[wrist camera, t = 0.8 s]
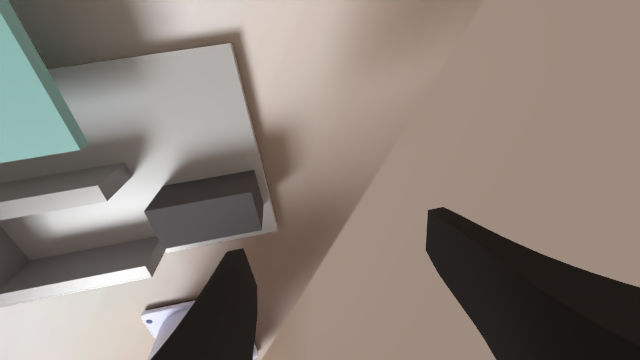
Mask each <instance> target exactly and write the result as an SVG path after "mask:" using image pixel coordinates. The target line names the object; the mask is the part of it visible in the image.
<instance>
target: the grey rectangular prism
mask: <svg viewBox="0 0 640 360" xmlns="http://www.w3.org/2000/svg"><path fill="white" fill-rule="evenodd" d="M263 206H264V204H263V200H262V197H261V193H260V189H259V185H258V182H257V178H256V174H255V170H250V171H245V172H239V173H233V174H228V175H222V176H216V177H211V178H205V179H199V180H194V181H188V182H182V183H176V184H171V185H165V186H162V188H161V189H160V190H159V192H158V193H157V194H156V196H155V197H154V198H153V200H152V201H151V202H150V204H149V205H148V206H147V208H146V209H145V210H144V213H145V215H146V217H147V219H148V221H149V222H150V224H151V226H152V228H153V230H154V232H155V234H156V236H157V238H158V240H159V242H160V243H161V245H162V247H163V249H167V248H172V247H177V246H182V245H188V244H193V243H198V242H203V241H209V240H214V239H219V238H224V237H229V236H235V235H240V234H245V233H250V232H255V231H261V230H262V222H263Z"/></svg>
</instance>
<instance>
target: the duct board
mask: <svg viewBox="0 0 640 360" xmlns="http://www.w3.org/2000/svg"><path fill="white" fill-rule="evenodd" d="M47 70H48V72H49V74H50V75H51V77H52V79H53V81H54V82H55V84H56V86H57V88H58V90H59V91H60V93H61V95H62V97H63V99H64V100H65V102H66V104H67V106H68V107H69V109H70V111H71V113H72V115H73V116H74V118H75V120H76V122H77V124H78V125H79V127H80V129H81V131H82V132H83V134H84V136H85V138H86V140H87V141H88V143H89V145H88V146H86V147H85V148H83V149H81V150H77V151H71V152H65V153H59V154H53V155H47V156H41V157H35V158H28V159H22V160H16V161H10V162H4V163H0V307H5V306H10V305H15V304H20V303H25V302H30V301H35V300H40V299H45V298H50V297H55V296H60V295H65V294H70V293H75V292H80V291H85V290H91V289H96V288H101V287H106V286H111V285H116V284H121V283H126V282H131V281H136V280H141V279H146V278H151V277H152V276H153V274H154V272H155V270H156V268H157V266H158V264H159V262H160V260H161V258H162V256H163V254H164V253H169V252H174V251H179V250H184V249H189V248H195V247H200V246H205V245H210V244H215V243H220V242H226V241H231V240H236V239H241V238H246V237H252V236H257V235H262V234H267V233H272V232H278V225H277V221H276V217H275V213H274V209H273V205H272V201H271V197H270V193H269V189H268V185H267V181H266V177H265V173H264V169H263V165H262V161H261V157H260V153H259V149H258V145H257V141H256V137H255V133H254V129H253V125H252V121H251V117H250V112H249V108H248V104H247V100H246V96H245V92H244V88H243V84H242V80H241V76H240V72H239V68H238V64H237V60H236V56H235V52H234V48H233V44H232V43H227V44H220V45H213V46H206V47H199V48H192V49H185V50H178V51H171V52H164V53H157V54H150V55H143V56H136V57H129V58H122V59H115V60H108V61H101V62H94V63H87V64H80V65H73V66H66V67H59V68H52V69H47ZM250 170H255V174H256V178H257V182H258V185H259V189H260V193H261V197H262V200H263V204H264V206H263V222H262V230H261V231H255V232H250V233H245V234H240V235H235V236H229V237H224V238H219V239H214V240H209V241H203V242H198V243H193V244H188V245H182V246H177V247H172V248H167V249H163V247H162V245H161V243H160V242H159V240H158V238H157V236H156V234H155V232H154V230H153V228H152V226H151V224H150V222H149V221H148V219H147V217H146V215H145V213H144V210H145V209H146V208H147V206H148V205H149V204H150V202H151V201H152V200H153V198H154V197H155V196H156V194H157V193H158V192H159V190H160V189H161V188H162V186H165V185H171V184H176V183H182V182H188V181H194V180H199V179H205V178H211V177H216V176H222V175H228V174H233V173H239V172H245V171H250Z"/></svg>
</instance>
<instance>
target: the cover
mask: <svg viewBox="0 0 640 360" xmlns="http://www.w3.org/2000/svg"><path fill="white" fill-rule="evenodd" d="M88 145H89V143H88V141H87V140H86V138H85V136H84V134H83V132H82V131H81V129H80V127H79V125H78V124H77V122H76V120H75V118H74V116H73V115H72V113H71V111H70V109H69V107H68V106H67V104H66V102H65V100H64V99H63V97H62V95H61V93H60V91H59V90H58V88H57V86H56V84H55V82H54V81H53V79H52V77H51V75H50V74H49V72H48V70H47V68H46V66H45V65H44V63H43V61H42V59H41V57H40V56H39V54H38V52H37V50H36V49H35V47H34V45H33V43H32V41H31V40H30V38H29V36H28V34H27V32H26V31H25V29H24V27H23V25H22V24H21V22H20V20H19V18H18V16H17V15H16V13H15V11H14V9H13V7H12V6H11V4H10V2H9V0H0V163H4V162H10V161H16V160H22V159H28V158H35V157H41V156H47V155H53V154H59V153H65V152H71V151H77V150H81V149H83V148H85V147H86V146H88Z"/></svg>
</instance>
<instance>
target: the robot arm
mask: <svg viewBox="0 0 640 360" xmlns="http://www.w3.org/2000/svg"><path fill="white" fill-rule="evenodd" d="M426 251H427V253H428V255H429V257H430V259H431V261H432V263H433V265H434V266H435V268H436V270H437V272H438V273H439V275H440V276H441V278H442V279H443V280H444V282H445V283H446V285H447V286H448V288H449V289H450V291H451V292H452V293H453V295H454V296H455V297H456V299H457V300H458V302H459V303H460V305H461V306H462V307H463V309H464V310H465V311H466V313H467V314H468V316H469V317H470V319H471V320H472V321H473V323H474V324H475V325H476V327H477V329H478V330H479V332H480V333H481V335H482V336H483V338H484V339H485V341H486V343H487V344H488V346H489V348H490V349H491V351H492V353H493V355H494V356H495V358H496V360H640V287H636V286H633V285H629V284H626V283H622V282H619V281H616V280H613V279H610V278H607V277H603V276H601V275H597V274H594V273H591V272H588V271H585V270H582V269H580V268H577V267H574V266H571V265H569V264H566V263H563V262H561V261H558V260H556V259H553V258H550V257H548V256H545V255H543V254H540V253H538V252H535V251H533V250H531V249H529V248H526V247H524V246H522V245H519V244H517V243H515V242H513V241H511V240H509V239H506V238H504V237H502V236H500V235H498V234H496V233H494V232H492V231H490V230H488V229H486V228H484V227H482V226H480V225H478V224H476V223H474V222H472V221H470V220H468V219H466V218H464V217H462V216H461V215H459V214H457V213H454V212H452V211H450V210H448V209H446V208H444V207H441V208H437V209H432V210H428V222H427V238H426ZM141 319H142V321H143V322H144V324H145V325H146V327H147V328H148V330H149V331H150V332H151V334H152V335H153V337H154V338H155V342H154V344H153V347H152V349H151V352H150V354H149V357H148V359H147V360H253V359H255V358H257V357H258V350H257V348H256V345H255V343H254V341H255V332H256V322H257V285H256V282H255V279H254V276H253V274H252V271H251V268H250V265H249V263H248V260H247V257H246V254H245V251H244V249H238V250H233V251H228V252H227V253H226V254H225V255H224V257H223V259H222V260H221V262H220V263H219V265H218V267H217V268H216V270H215V271H214V273H213V275H212V276H211V278H210V279H209V281H208V283H207V284H206V286H205V287H204V289H203V290H202V292H201V293H200V295H199V296H198V298H197V299H196V300H195V301H190V302H185V303H180V304H175V305H170V306H166V307H161V308H156V309H151V310H146V311H144V312H143V313H142V315H141Z"/></svg>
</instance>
